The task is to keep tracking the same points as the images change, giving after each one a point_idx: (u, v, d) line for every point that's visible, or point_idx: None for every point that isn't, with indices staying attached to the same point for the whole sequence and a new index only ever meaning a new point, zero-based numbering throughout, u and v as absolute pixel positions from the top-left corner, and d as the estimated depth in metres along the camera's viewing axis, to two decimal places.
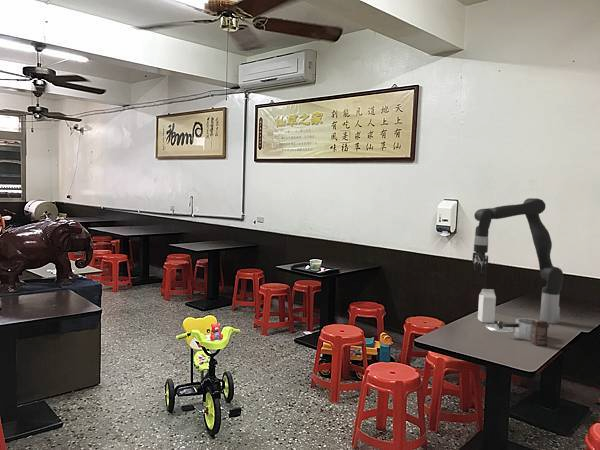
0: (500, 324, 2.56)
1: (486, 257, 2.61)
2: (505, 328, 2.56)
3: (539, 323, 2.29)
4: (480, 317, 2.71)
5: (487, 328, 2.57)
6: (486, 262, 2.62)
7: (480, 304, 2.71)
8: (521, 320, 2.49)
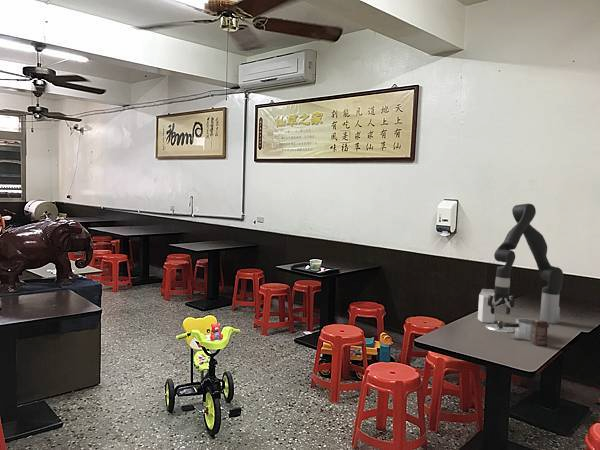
0: (500, 324, 2.56)
1: None
2: (505, 328, 2.57)
3: (539, 323, 2.29)
4: (480, 317, 2.71)
5: (487, 328, 2.57)
6: (510, 302, 2.58)
7: (480, 304, 2.71)
8: (521, 320, 2.49)
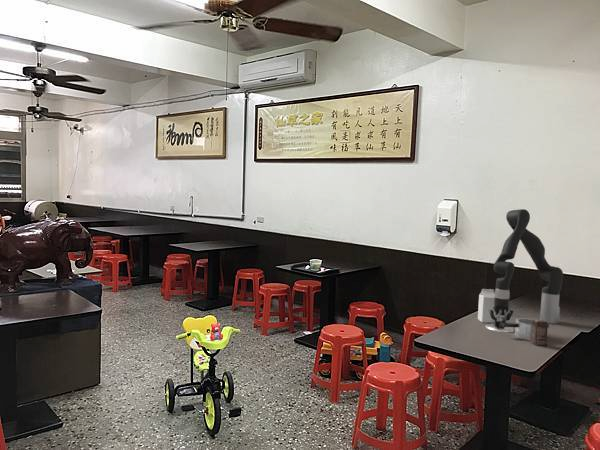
0: (500, 324, 2.56)
1: None
2: (505, 328, 2.57)
3: (539, 323, 2.29)
4: (480, 317, 2.71)
5: (487, 328, 2.56)
6: (507, 315, 2.58)
7: (480, 304, 2.71)
8: (521, 320, 2.49)
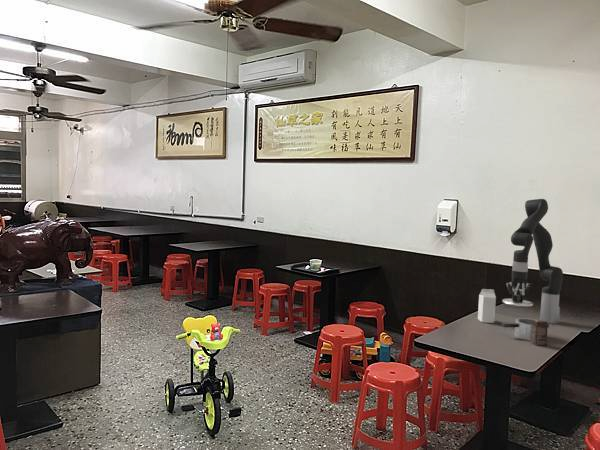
0: (518, 298, 2.47)
1: None
2: (523, 302, 2.48)
3: (539, 323, 2.29)
4: (480, 317, 2.71)
5: (504, 302, 2.48)
6: (525, 289, 2.49)
7: (480, 304, 2.71)
8: (521, 320, 2.49)
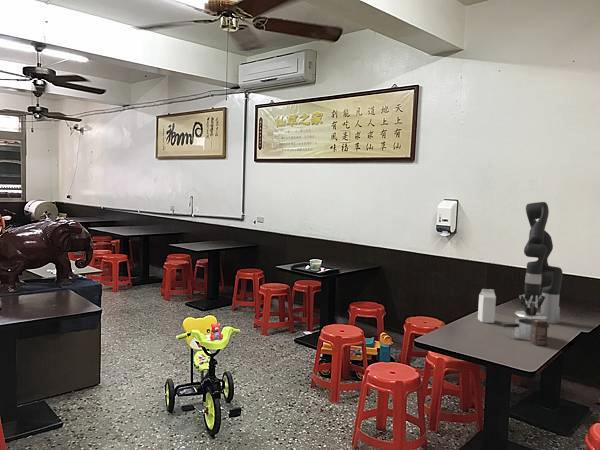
0: (531, 311, 2.41)
1: None
2: (536, 315, 2.42)
3: (539, 323, 2.29)
4: (480, 317, 2.71)
5: (517, 315, 2.42)
6: (538, 302, 2.44)
7: (480, 304, 2.71)
8: (521, 320, 2.49)
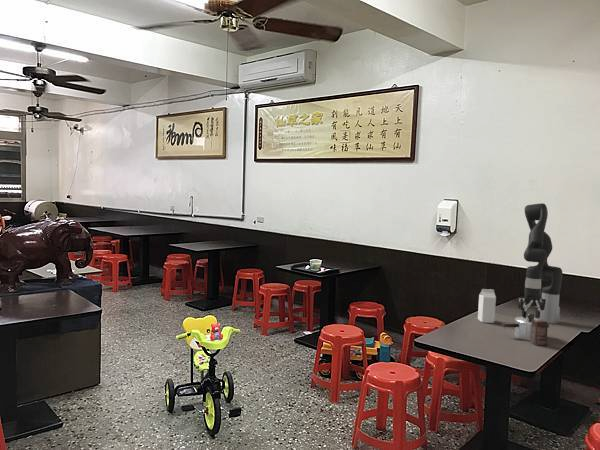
0: (531, 317, 2.42)
1: None
2: None
3: (539, 323, 2.29)
4: (480, 317, 2.71)
5: (517, 321, 2.42)
6: (540, 305, 2.44)
7: (480, 304, 2.71)
8: None
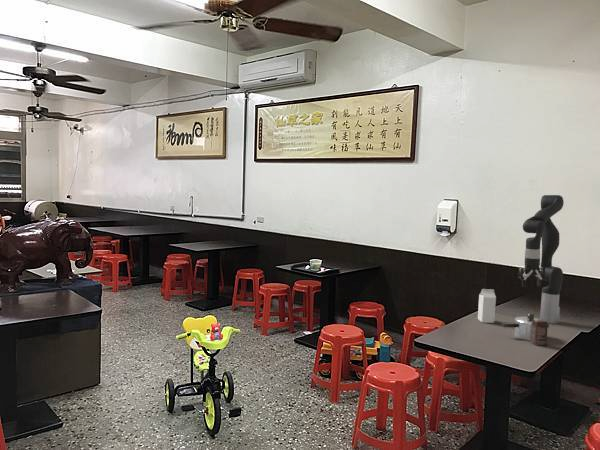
0: (531, 317, 2.42)
1: None
2: None
3: (539, 323, 2.29)
4: (480, 317, 2.71)
5: (517, 321, 2.42)
6: (541, 274, 2.54)
7: (480, 304, 2.71)
8: None
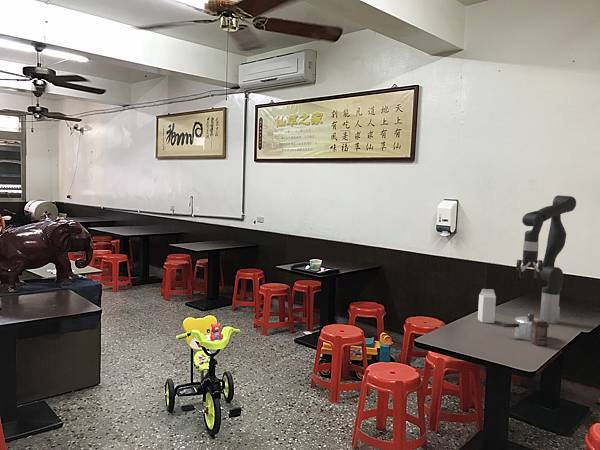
0: (531, 317, 2.42)
1: None
2: None
3: (539, 323, 2.29)
4: (480, 317, 2.71)
5: (517, 321, 2.42)
6: (538, 267, 2.60)
7: (480, 304, 2.71)
8: None
